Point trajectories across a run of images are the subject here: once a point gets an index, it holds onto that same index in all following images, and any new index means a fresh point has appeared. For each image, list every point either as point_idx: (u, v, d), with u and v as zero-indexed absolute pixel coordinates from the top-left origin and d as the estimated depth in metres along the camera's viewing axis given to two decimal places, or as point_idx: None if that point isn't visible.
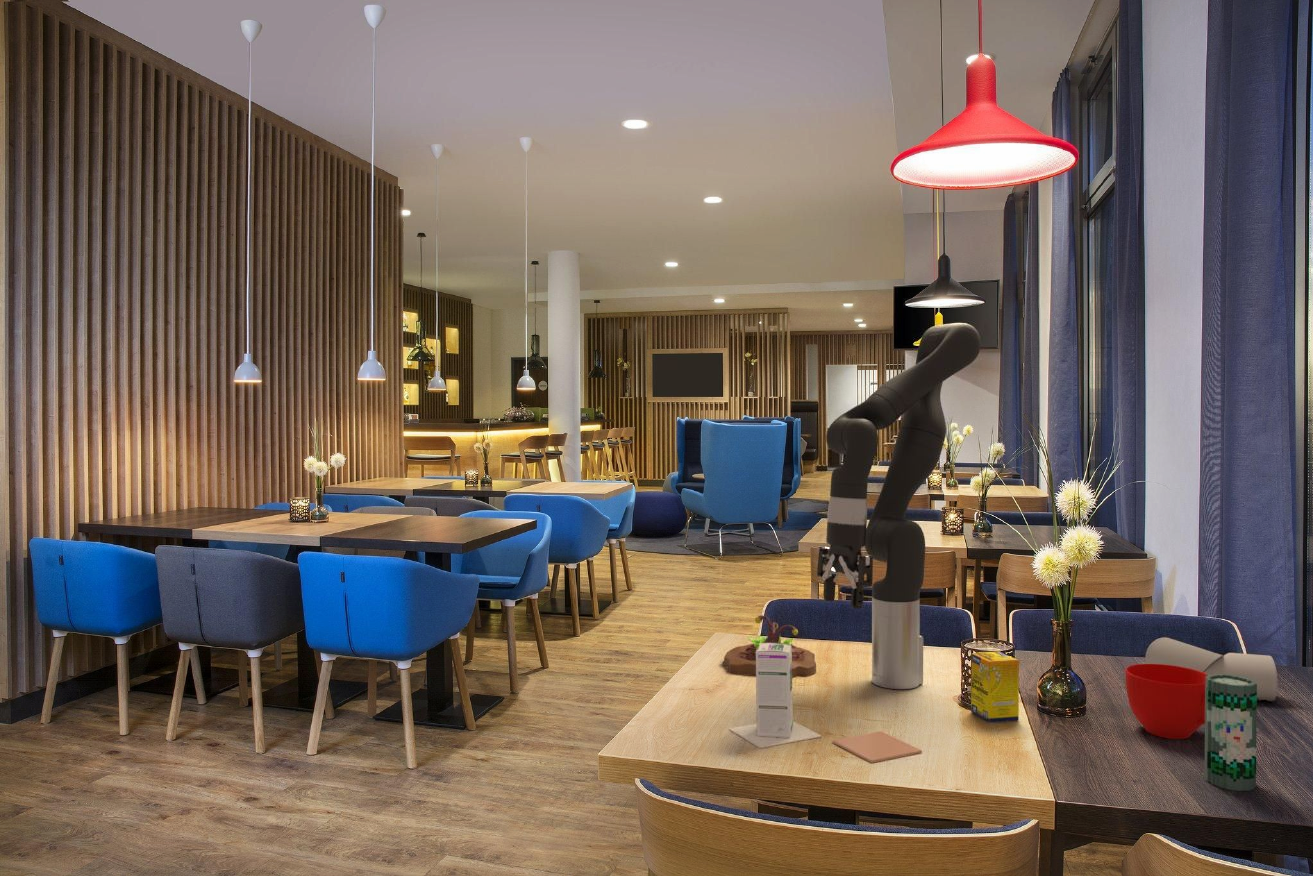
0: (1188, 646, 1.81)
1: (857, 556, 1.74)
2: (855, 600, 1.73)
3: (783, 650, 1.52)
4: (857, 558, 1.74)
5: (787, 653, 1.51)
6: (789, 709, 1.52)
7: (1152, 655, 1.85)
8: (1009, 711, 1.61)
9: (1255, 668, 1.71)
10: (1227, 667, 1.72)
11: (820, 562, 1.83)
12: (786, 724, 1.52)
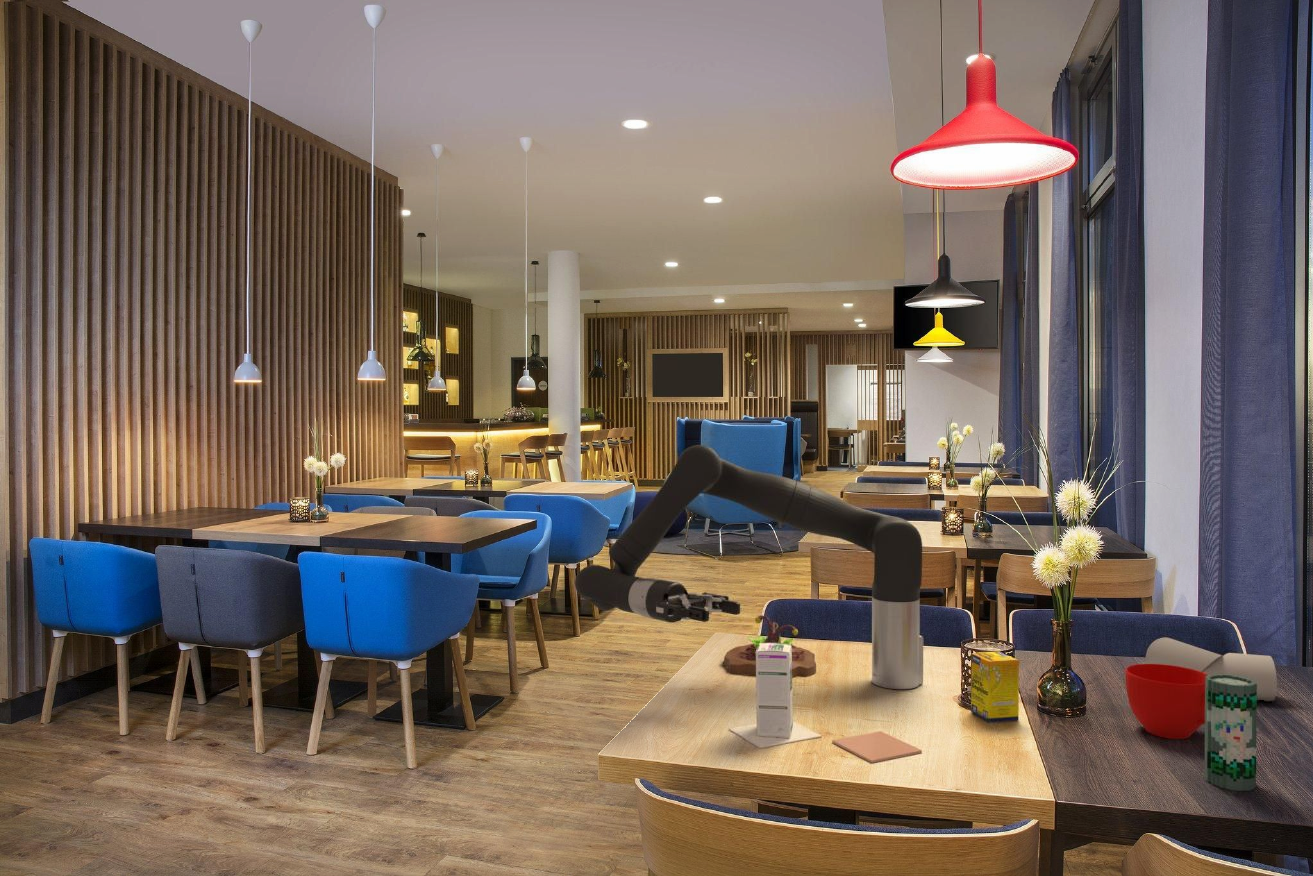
0: (1188, 646, 1.81)
1: None
2: None
3: (783, 650, 1.52)
4: None
5: (787, 653, 1.51)
6: (789, 709, 1.52)
7: (1153, 656, 1.85)
8: (1009, 710, 1.61)
9: (1254, 668, 1.71)
10: (1226, 667, 1.72)
11: (714, 608, 1.72)
12: (786, 724, 1.52)
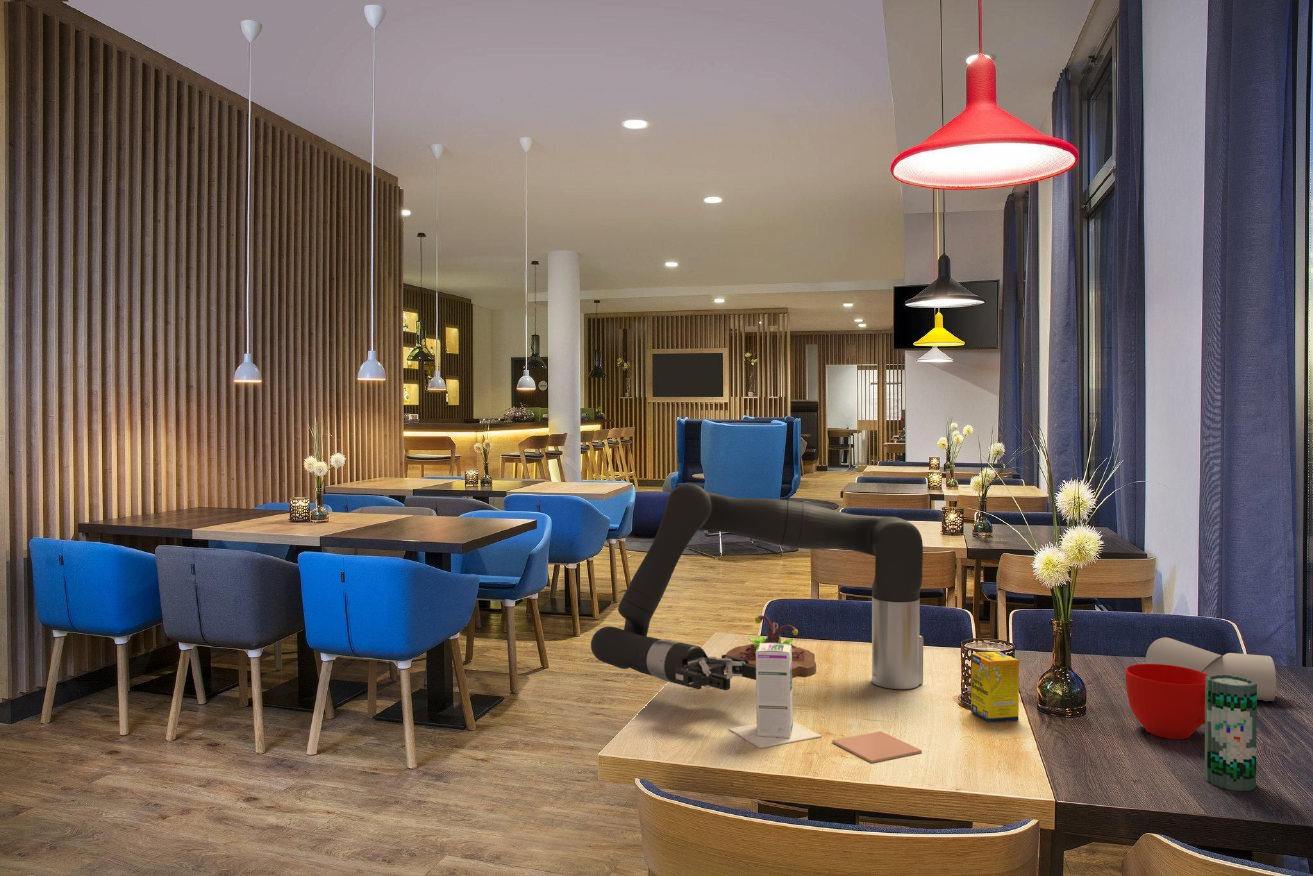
0: (1188, 646, 1.81)
1: None
2: None
3: (783, 650, 1.52)
4: None
5: (787, 653, 1.51)
6: (789, 709, 1.52)
7: (1153, 655, 1.85)
8: (1009, 710, 1.61)
9: (1254, 668, 1.71)
10: (1225, 667, 1.72)
11: None
12: (786, 724, 1.52)
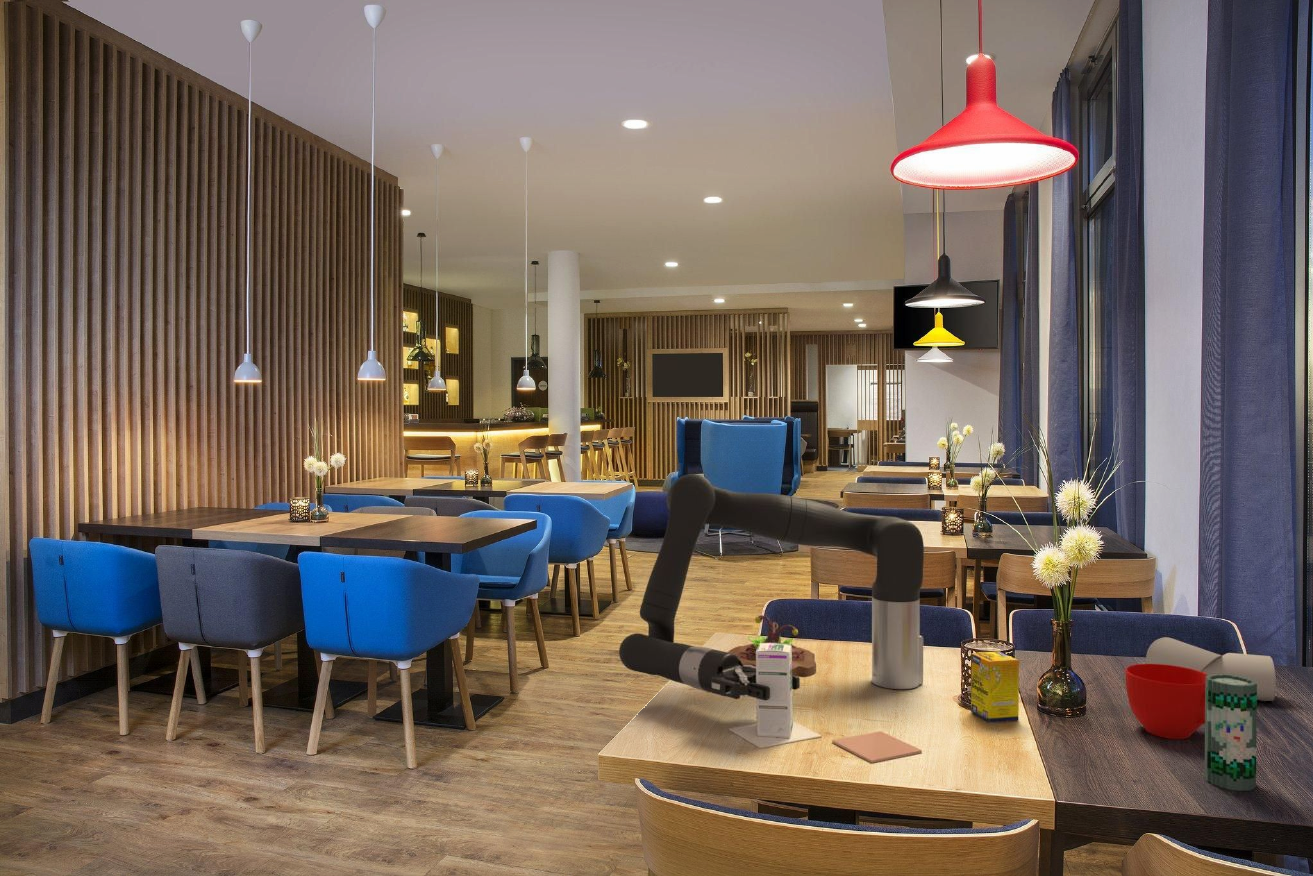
0: (1188, 646, 1.81)
1: None
2: None
3: (783, 650, 1.52)
4: None
5: (787, 653, 1.51)
6: (789, 709, 1.52)
7: (1153, 655, 1.86)
8: (1009, 710, 1.61)
9: (1253, 668, 1.71)
10: (1225, 667, 1.72)
11: None
12: (787, 724, 1.52)
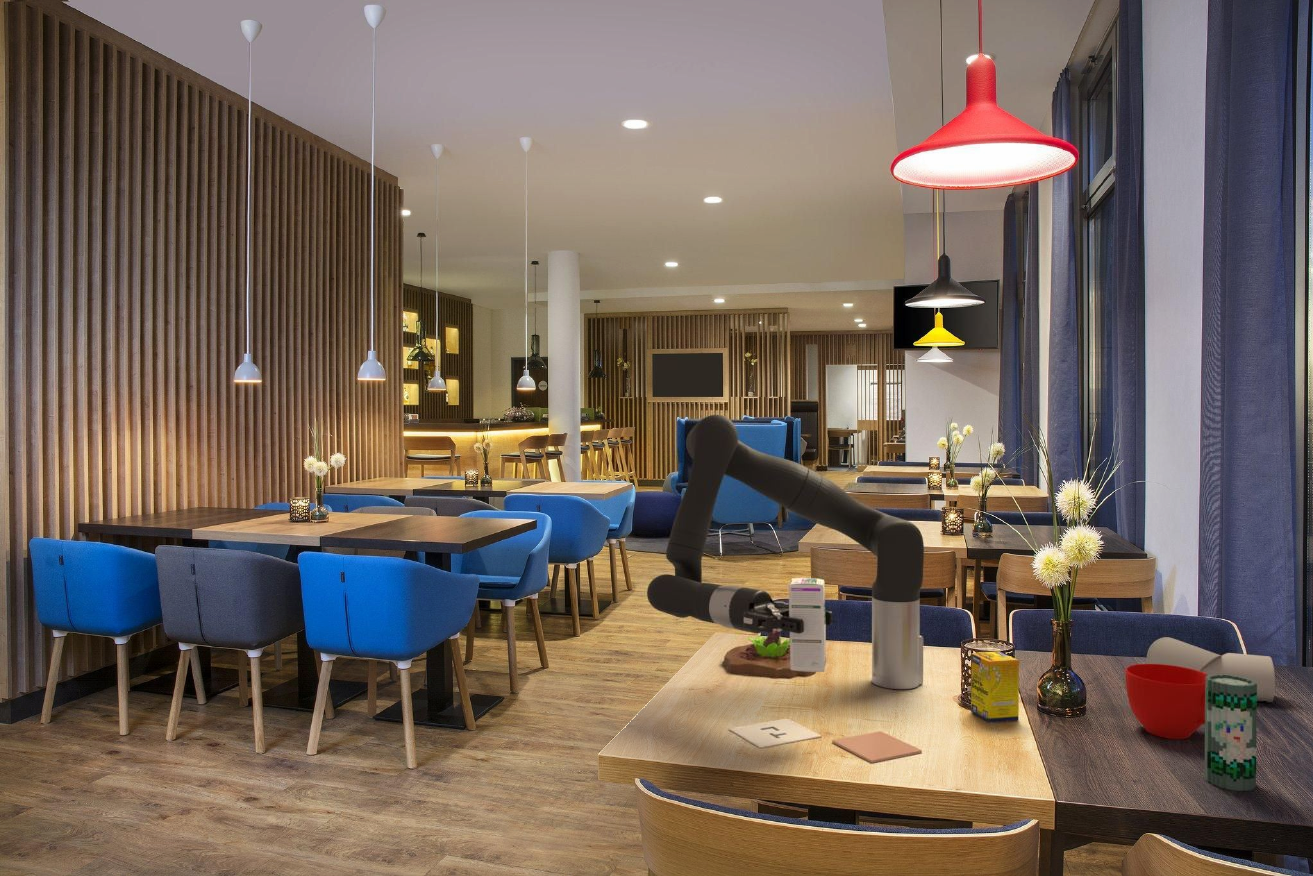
0: (1188, 646, 1.81)
1: None
2: None
3: (817, 583, 1.50)
4: None
5: (821, 586, 1.49)
6: (823, 643, 1.49)
7: (1153, 655, 1.86)
8: (1009, 710, 1.61)
9: (1252, 668, 1.70)
10: (1224, 667, 1.72)
11: None
12: (820, 657, 1.49)
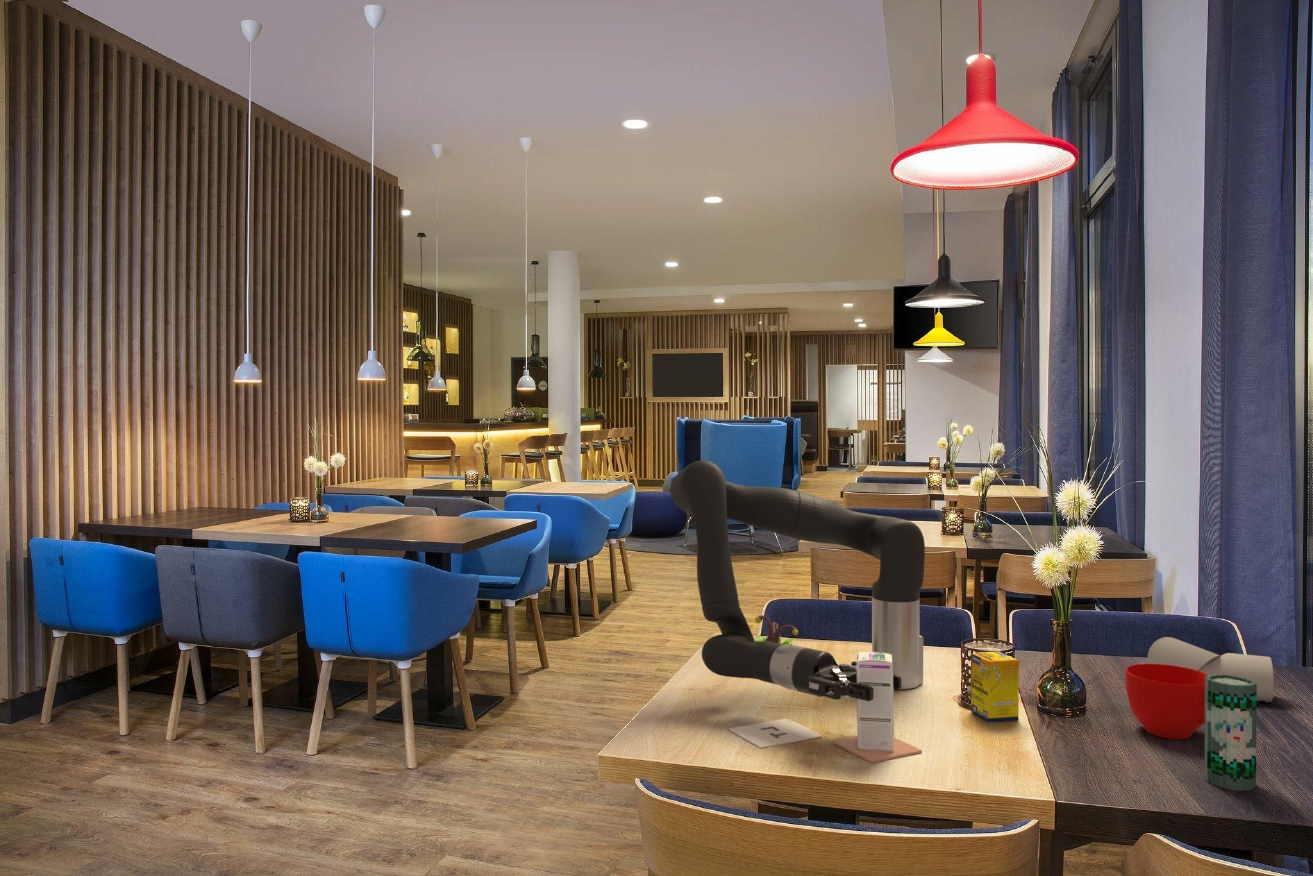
0: (1188, 646, 1.81)
1: None
2: (861, 697, 1.44)
3: (886, 660, 1.45)
4: None
5: (890, 663, 1.44)
6: (892, 722, 1.45)
7: (1154, 655, 1.86)
8: (1009, 710, 1.61)
9: (1251, 668, 1.70)
10: (1222, 667, 1.72)
11: None
12: (890, 737, 1.45)
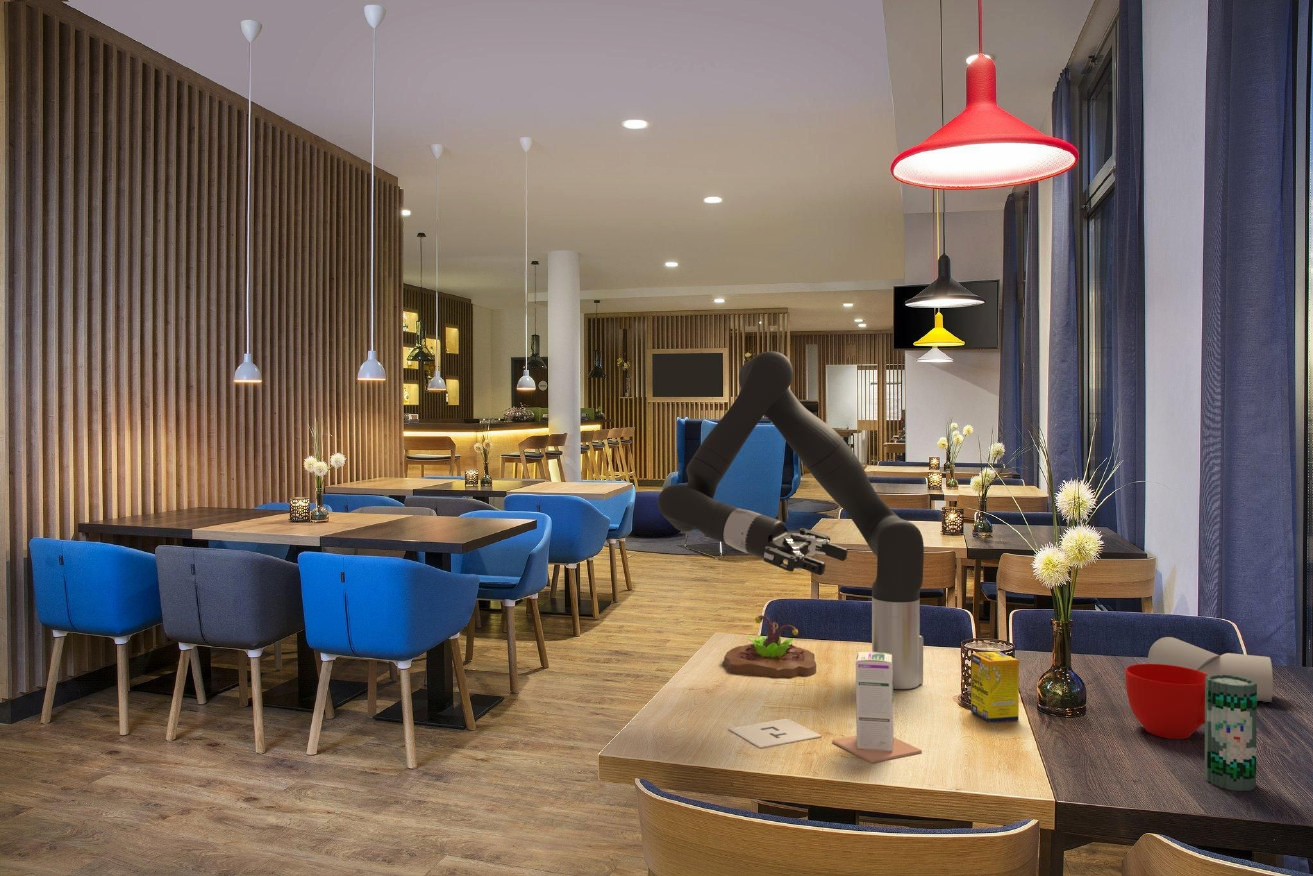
0: (1188, 646, 1.81)
1: None
2: None
3: (885, 660, 1.45)
4: None
5: (889, 663, 1.44)
6: (891, 722, 1.45)
7: (1154, 654, 1.86)
8: (1009, 710, 1.61)
9: (1250, 669, 1.70)
10: (1222, 667, 1.72)
11: None
12: (888, 737, 1.45)
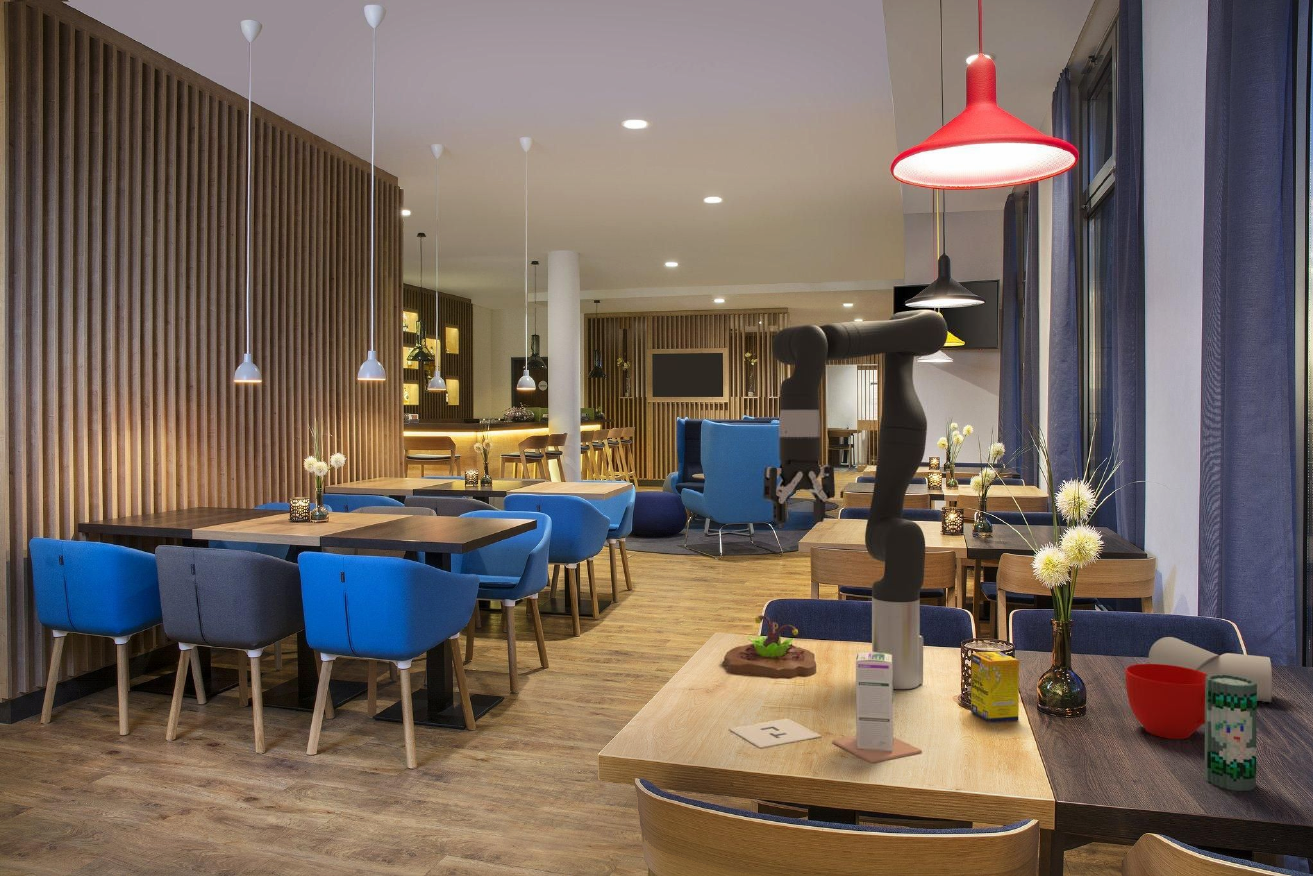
0: (1188, 645, 1.81)
1: None
2: None
3: (885, 660, 1.45)
4: None
5: (889, 663, 1.44)
6: (891, 722, 1.45)
7: (1155, 654, 1.86)
8: (1009, 710, 1.61)
9: (1250, 669, 1.70)
10: (1221, 667, 1.72)
11: None
12: (888, 737, 1.45)
